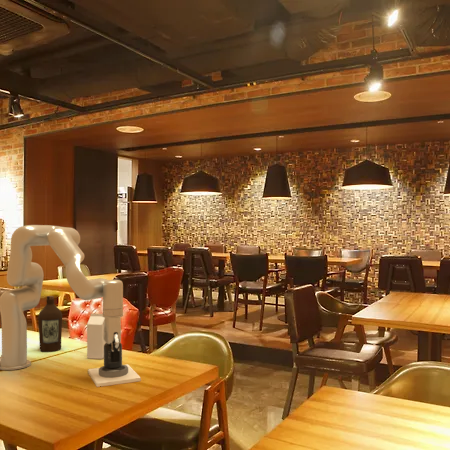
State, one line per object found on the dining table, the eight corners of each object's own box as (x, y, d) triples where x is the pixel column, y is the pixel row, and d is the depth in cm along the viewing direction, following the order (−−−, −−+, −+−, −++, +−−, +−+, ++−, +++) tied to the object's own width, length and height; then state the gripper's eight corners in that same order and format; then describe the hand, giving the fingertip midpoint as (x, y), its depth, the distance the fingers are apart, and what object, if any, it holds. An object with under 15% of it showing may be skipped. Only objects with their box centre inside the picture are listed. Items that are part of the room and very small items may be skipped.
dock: (96, 387, 176) (96, 378, 176) (87, 372, 194) (87, 364, 194) (140, 381, 182) (140, 372, 182) (128, 367, 200) (128, 359, 200)
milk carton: (102, 359, 213) (102, 315, 213) (87, 358, 214) (86, 314, 215) (109, 355, 220) (109, 312, 220) (94, 354, 221) (94, 312, 222)
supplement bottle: (125, 365, 190) (125, 334, 190) (114, 370, 184) (114, 338, 184) (111, 363, 193) (111, 333, 193) (99, 368, 187) (99, 336, 187)
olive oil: (38, 348, 234) (38, 295, 234) (62, 346, 238) (61, 294, 238) (38, 353, 224) (37, 298, 224) (62, 351, 228) (62, 297, 228)
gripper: (98, 309, 195) (98, 355, 195) (107, 316, 179) (107, 366, 179) (117, 308, 198) (117, 352, 198) (128, 315, 182) (128, 363, 182)
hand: (112, 358), depth 188 cm, fingers closed on supplement bottle, 6 cm apart
